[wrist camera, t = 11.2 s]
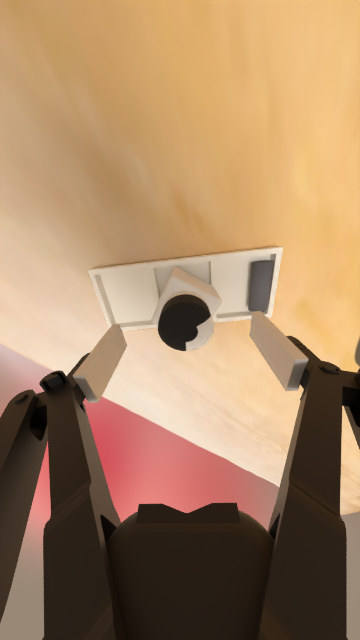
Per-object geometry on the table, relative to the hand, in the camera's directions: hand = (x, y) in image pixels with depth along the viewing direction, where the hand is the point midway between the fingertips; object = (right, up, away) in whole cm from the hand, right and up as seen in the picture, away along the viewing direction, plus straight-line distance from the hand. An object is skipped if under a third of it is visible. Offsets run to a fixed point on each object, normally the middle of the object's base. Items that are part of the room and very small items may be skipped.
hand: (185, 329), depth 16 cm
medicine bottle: (0, +5, +11) cm, 12 cm away
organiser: (0, +6, +13) cm, 14 cm away
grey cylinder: (+11, +6, +10) cm, 16 cm away
